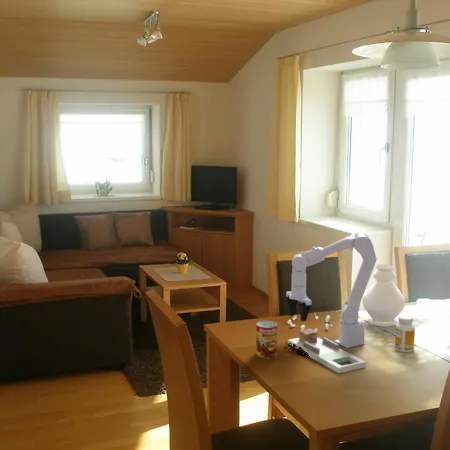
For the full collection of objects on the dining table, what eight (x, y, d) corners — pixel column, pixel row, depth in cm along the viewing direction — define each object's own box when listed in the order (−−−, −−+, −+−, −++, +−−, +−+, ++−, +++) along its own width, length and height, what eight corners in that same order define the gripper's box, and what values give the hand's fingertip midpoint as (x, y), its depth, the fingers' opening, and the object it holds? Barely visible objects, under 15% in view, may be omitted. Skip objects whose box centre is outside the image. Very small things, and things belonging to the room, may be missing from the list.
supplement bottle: (415, 347, 246) (416, 315, 244) (412, 353, 240) (413, 321, 238) (396, 344, 249) (397, 313, 247) (393, 350, 243) (394, 318, 241)
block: (309, 338, 251) (309, 328, 250) (317, 342, 246) (317, 332, 246) (299, 340, 248) (299, 330, 248) (306, 344, 244) (306, 334, 243)
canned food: (261, 359, 234) (262, 328, 232) (252, 352, 241) (252, 322, 239) (280, 356, 237) (281, 325, 235) (270, 349, 244) (271, 319, 242)
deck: (312, 339, 255) (313, 330, 254) (365, 367, 227) (365, 356, 226) (287, 344, 249) (288, 334, 248) (338, 373, 221) (339, 362, 221)
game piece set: (325, 317, 284) (325, 309, 284) (338, 332, 265) (339, 323, 264) (282, 319, 282) (283, 310, 281) (293, 334, 262) (293, 325, 262)
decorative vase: (408, 328, 268) (411, 271, 264) (366, 328, 268) (368, 271, 264) (397, 315, 285) (400, 261, 281) (358, 315, 286) (360, 261, 281)
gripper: (280, 282, 254) (279, 314, 256) (301, 290, 241) (300, 324, 244) (294, 279, 257) (294, 312, 260) (316, 288, 245) (315, 322, 247)
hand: (298, 318), depth 252 cm, fingers open, 7 cm apart
